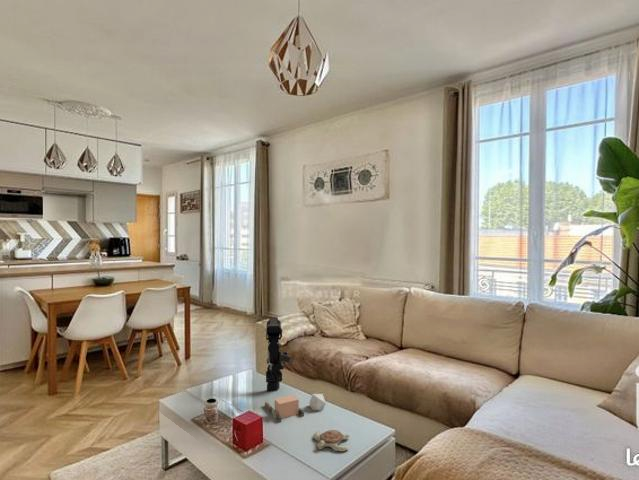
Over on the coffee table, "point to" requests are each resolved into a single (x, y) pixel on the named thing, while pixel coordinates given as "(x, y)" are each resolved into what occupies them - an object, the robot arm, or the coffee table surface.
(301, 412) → the track
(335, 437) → the decorative turtle
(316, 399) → the die
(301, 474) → the coffee table surface
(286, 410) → the block
